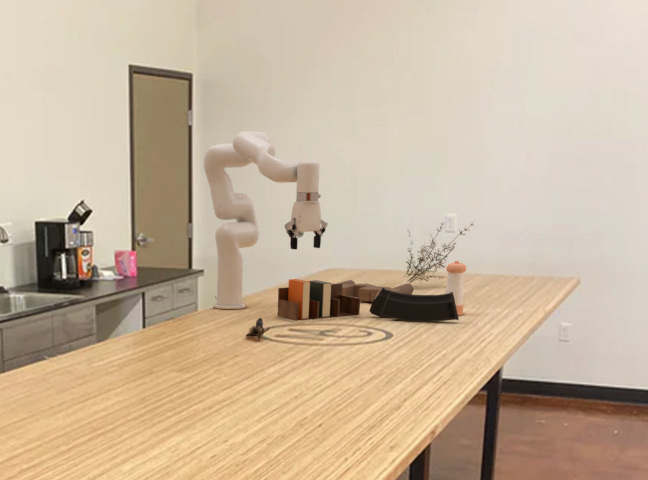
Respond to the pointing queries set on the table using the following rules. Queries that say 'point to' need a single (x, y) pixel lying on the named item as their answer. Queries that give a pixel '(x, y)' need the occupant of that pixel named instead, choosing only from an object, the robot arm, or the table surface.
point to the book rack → (338, 305)
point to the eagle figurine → (257, 330)
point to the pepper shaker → (456, 283)
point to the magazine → (414, 306)
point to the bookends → (370, 290)
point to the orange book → (300, 296)
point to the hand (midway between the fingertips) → (305, 248)
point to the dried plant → (430, 259)
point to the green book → (321, 296)
